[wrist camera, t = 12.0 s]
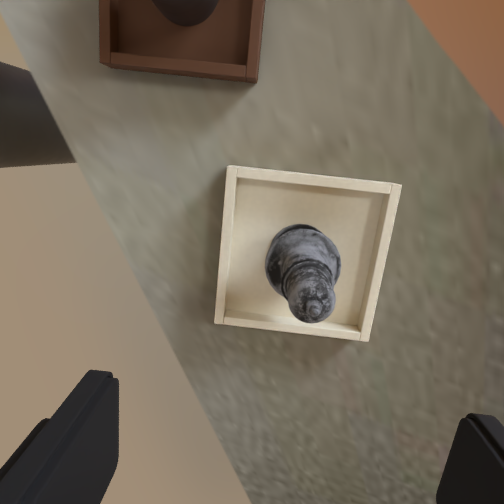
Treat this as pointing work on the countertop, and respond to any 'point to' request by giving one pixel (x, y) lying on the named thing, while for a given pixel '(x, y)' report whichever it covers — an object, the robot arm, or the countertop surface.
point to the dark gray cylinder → (186, 10)
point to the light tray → (314, 214)
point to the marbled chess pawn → (304, 271)
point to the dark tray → (183, 40)
